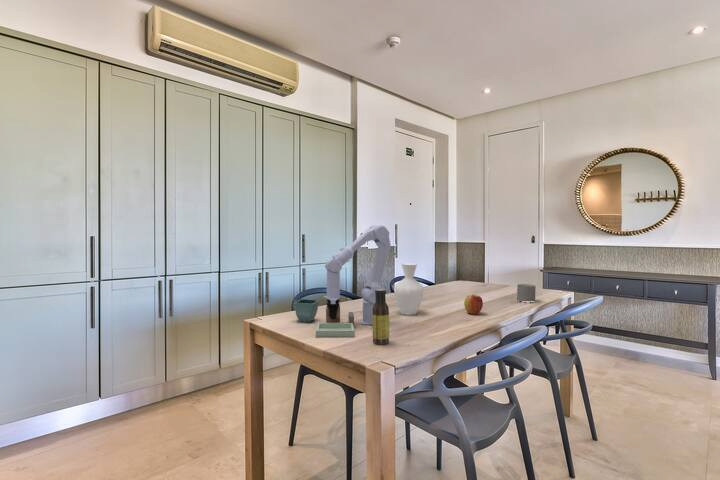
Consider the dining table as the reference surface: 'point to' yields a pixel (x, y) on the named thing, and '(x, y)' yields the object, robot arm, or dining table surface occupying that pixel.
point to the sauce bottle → (380, 318)
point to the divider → (351, 318)
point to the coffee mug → (526, 292)
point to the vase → (408, 291)
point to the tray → (335, 330)
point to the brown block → (329, 320)
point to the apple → (473, 304)
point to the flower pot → (306, 309)
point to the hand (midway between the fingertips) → (333, 317)
